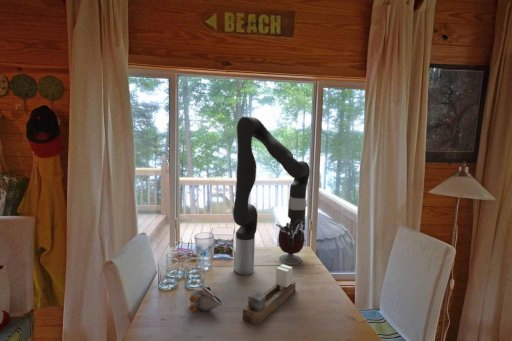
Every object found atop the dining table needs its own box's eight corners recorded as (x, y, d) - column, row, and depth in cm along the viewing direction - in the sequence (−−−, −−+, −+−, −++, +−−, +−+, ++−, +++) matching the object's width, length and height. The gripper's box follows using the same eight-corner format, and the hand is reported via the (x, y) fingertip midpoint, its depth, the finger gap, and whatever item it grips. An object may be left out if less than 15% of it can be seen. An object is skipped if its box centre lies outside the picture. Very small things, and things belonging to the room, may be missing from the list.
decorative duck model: (201, 278, 124) (233, 283, 119) (200, 295, 124) (233, 301, 119) (181, 291, 109) (217, 298, 105) (180, 312, 109) (217, 319, 105)
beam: (242, 319, 106) (243, 298, 106) (283, 286, 131) (283, 269, 130) (256, 325, 103) (257, 304, 102) (295, 290, 128) (296, 273, 127)
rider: (275, 288, 124) (276, 267, 123) (281, 284, 128) (282, 263, 127) (286, 292, 121) (287, 271, 120) (292, 287, 126) (292, 266, 125)
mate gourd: (300, 254, 168) (301, 220, 166) (305, 265, 154) (307, 228, 152) (273, 254, 167) (274, 220, 165) (276, 265, 153) (277, 227, 151)
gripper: (296, 203, 135) (294, 237, 137) (281, 208, 124) (279, 245, 126) (311, 205, 131) (309, 240, 133) (297, 211, 120) (295, 250, 121)
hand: (294, 243), depth 129 cm, fingers open, 8 cm apart
